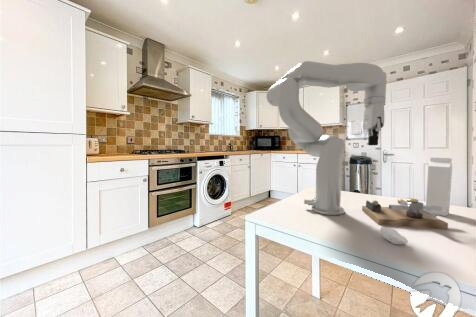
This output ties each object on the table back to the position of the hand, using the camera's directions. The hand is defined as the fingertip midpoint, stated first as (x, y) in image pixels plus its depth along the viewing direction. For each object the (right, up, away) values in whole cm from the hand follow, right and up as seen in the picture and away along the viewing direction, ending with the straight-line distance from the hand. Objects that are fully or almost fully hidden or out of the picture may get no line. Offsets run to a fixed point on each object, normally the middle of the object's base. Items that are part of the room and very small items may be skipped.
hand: (373, 145), depth 89 cm
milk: (+21, -28, -8) cm, 35 cm away
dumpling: (-15, -30, -31) cm, 46 cm away
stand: (+1, -28, -13) cm, 31 cm away
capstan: (+3, -26, -17) cm, 32 cm away
